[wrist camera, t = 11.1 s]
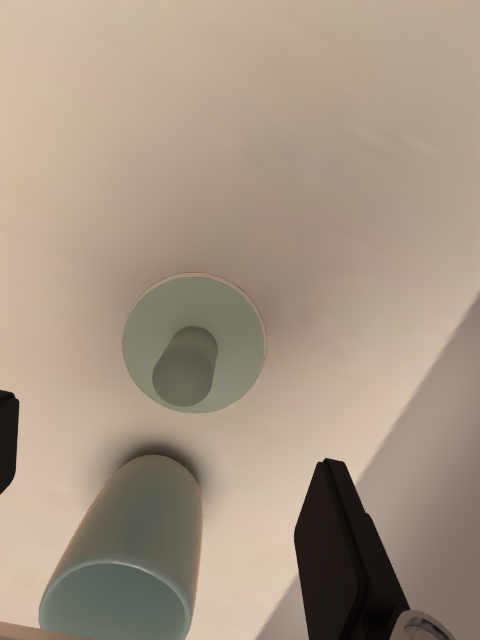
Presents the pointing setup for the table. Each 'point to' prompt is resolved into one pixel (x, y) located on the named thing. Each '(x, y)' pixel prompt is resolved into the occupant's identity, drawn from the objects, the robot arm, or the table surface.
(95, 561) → the cup
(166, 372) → the lid
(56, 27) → the table surface
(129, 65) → the table surface
